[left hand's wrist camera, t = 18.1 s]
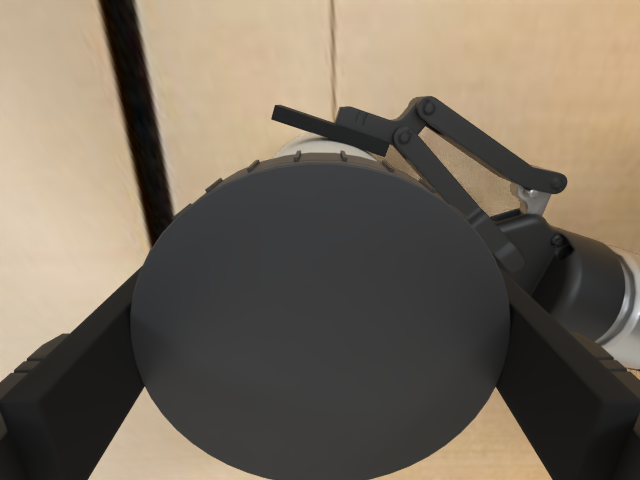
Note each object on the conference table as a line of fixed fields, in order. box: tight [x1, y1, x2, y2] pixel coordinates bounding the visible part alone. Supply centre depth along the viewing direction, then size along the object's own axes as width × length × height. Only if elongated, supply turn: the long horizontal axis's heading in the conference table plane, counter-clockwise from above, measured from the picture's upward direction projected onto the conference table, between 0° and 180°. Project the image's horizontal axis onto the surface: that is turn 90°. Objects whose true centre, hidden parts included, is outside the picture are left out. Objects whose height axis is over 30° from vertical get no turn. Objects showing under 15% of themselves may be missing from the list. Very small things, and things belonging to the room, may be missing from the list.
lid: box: [130, 150, 511, 480], centre depth 11 cm, size 10×10×2 cm
